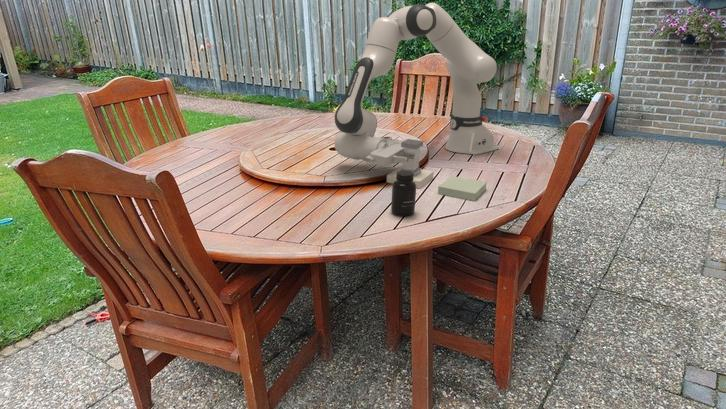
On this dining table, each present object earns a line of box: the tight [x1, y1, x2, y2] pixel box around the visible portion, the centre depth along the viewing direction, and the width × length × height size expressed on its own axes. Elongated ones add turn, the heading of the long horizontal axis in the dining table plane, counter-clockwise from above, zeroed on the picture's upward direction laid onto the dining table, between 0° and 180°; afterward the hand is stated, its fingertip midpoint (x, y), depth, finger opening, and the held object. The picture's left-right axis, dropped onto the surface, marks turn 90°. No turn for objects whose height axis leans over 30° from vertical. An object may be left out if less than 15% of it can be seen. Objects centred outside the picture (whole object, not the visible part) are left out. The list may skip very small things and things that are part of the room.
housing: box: [400, 138, 424, 177], centre depth 164 cm, size 6×6×11 cm
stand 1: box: [386, 165, 435, 189], centre depth 167 cm, size 12×12×2 cm
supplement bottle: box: [390, 171, 417, 217], centre depth 139 cm, size 7×7×12 cm
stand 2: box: [437, 175, 488, 202], centre depth 157 cm, size 12×12×2 cm
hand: (413, 156), depth 164 cm, fingers open, 8 cm apart
